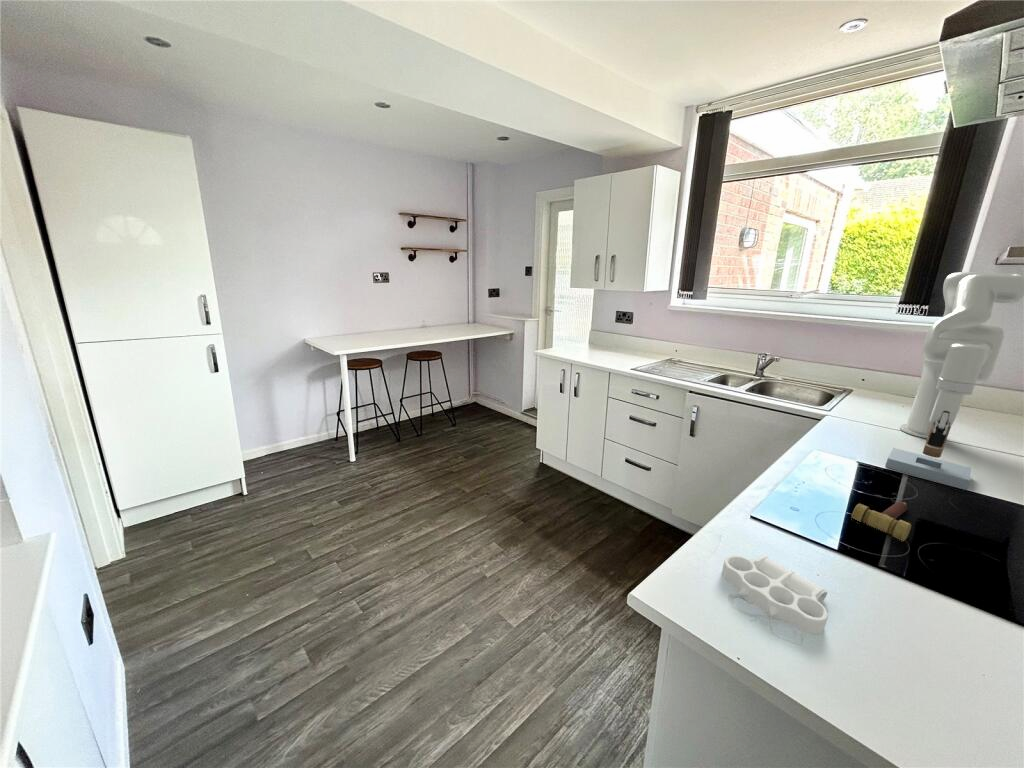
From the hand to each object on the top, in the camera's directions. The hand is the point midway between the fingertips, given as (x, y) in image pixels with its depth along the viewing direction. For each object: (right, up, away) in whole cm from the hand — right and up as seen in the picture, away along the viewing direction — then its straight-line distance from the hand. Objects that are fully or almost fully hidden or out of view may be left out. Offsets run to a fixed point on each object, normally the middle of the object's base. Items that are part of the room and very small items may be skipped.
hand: (935, 443), depth 128 cm
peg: (0, -4, +1) cm, 4 cm away
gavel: (-34, -16, -22) cm, 43 cm away
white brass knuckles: (-79, -23, -47) cm, 95 cm away
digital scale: (0, -9, +3) cm, 10 cm away
